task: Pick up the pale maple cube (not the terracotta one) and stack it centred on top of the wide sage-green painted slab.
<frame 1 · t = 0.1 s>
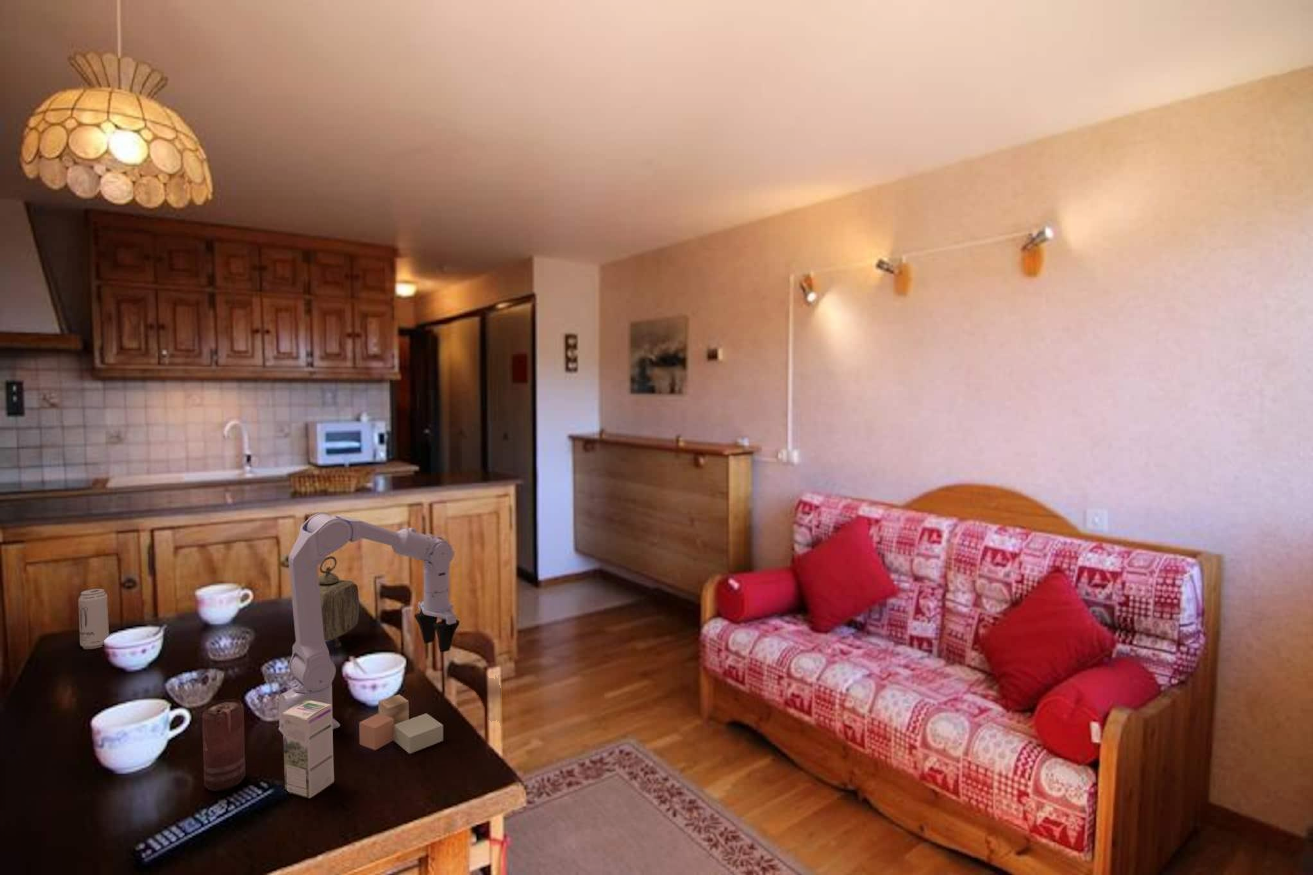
hand: (436, 646, 157), 10 cm above the table, fingers open, 7 cm apart
syrup box: (309, 788, 118), on the table
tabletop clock: (330, 648, 182), on the table
terracotta cube: (376, 742, 133), on the table
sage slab: (418, 741, 134), on the table
energy drink can: (94, 646, 181), on the table
maple cube: (393, 721, 142), on the table
can: (225, 783, 119), on the table
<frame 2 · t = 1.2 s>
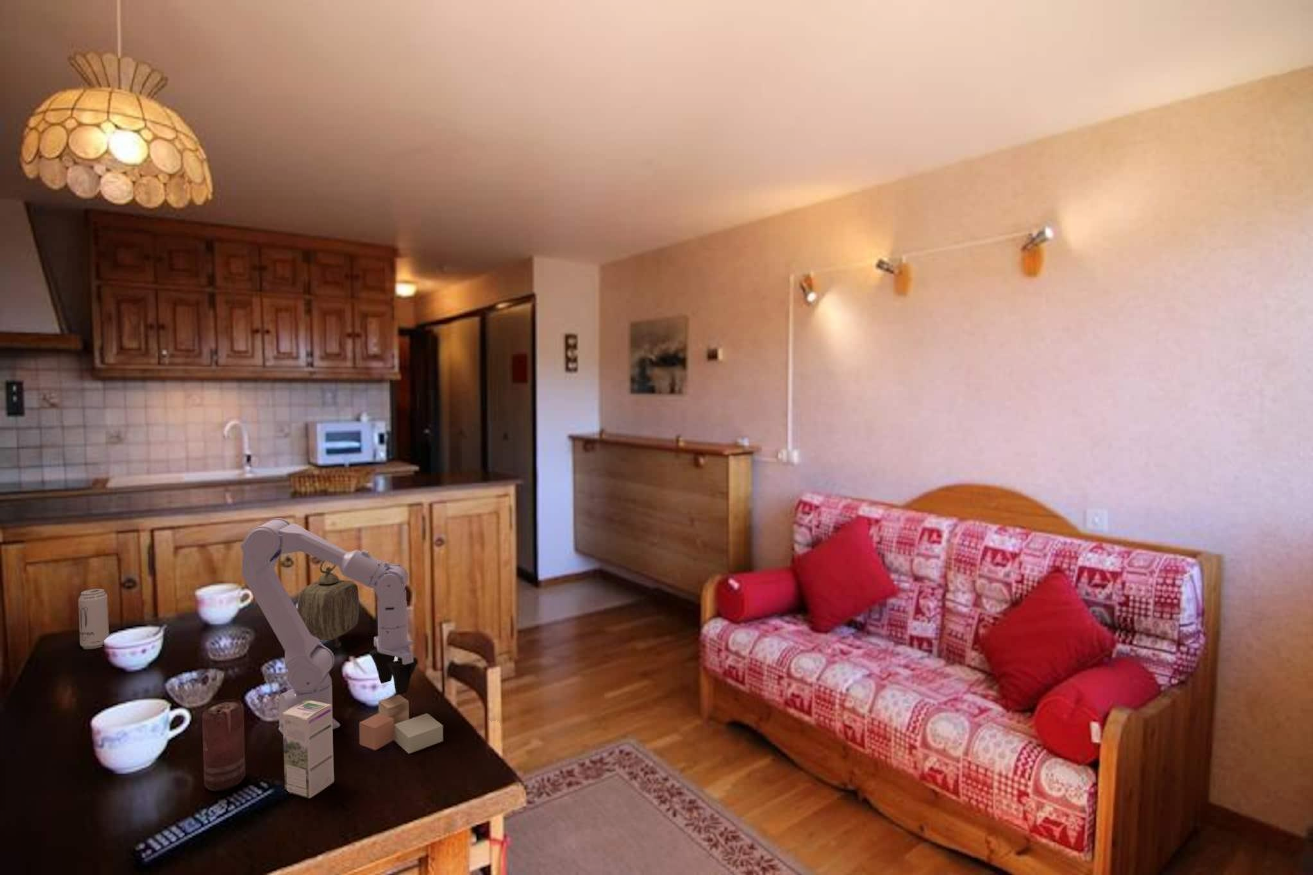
hand: (393, 687, 141), 7 cm above the table, fingers open, 7 cm apart
nothing on the table moved.
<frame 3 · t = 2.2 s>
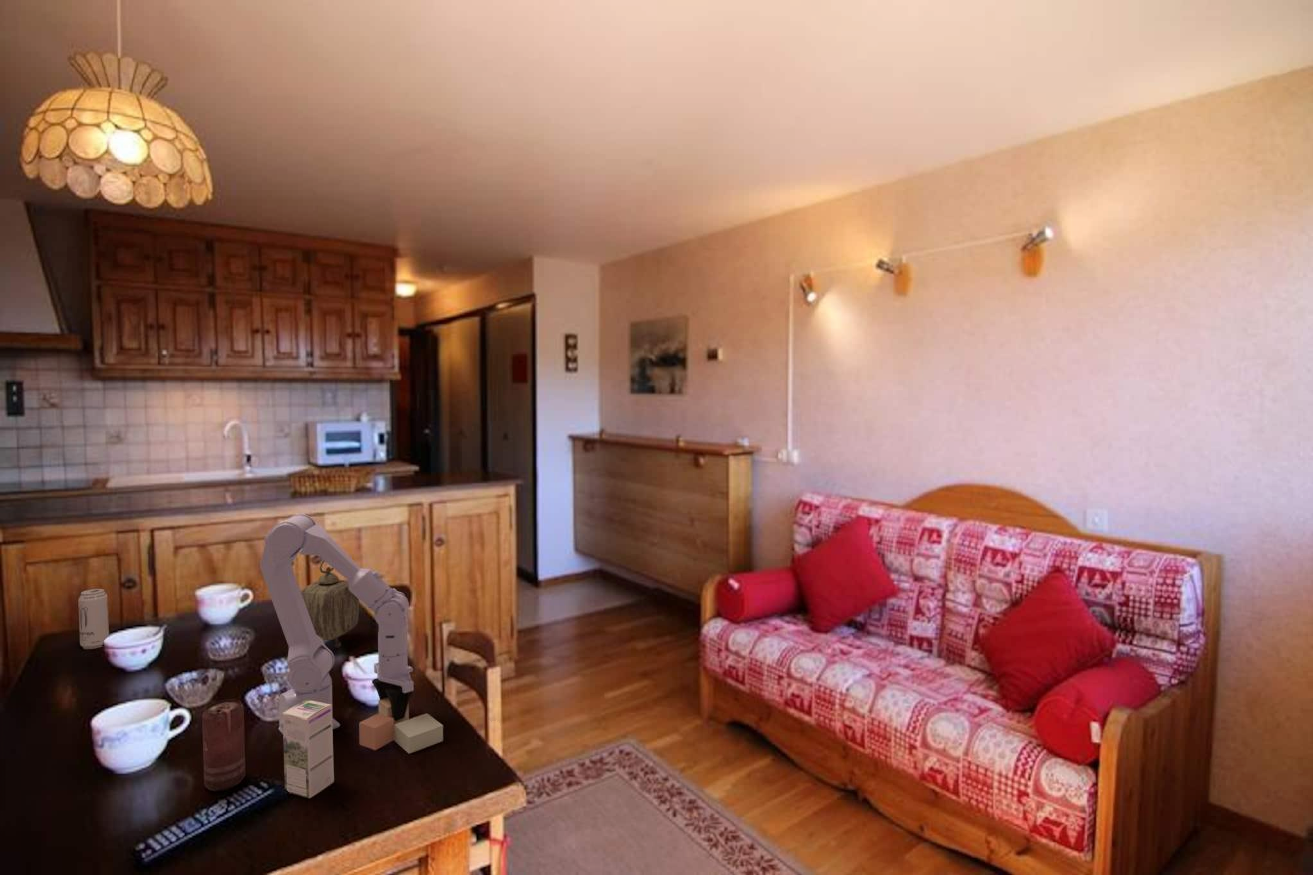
hand: (393, 714, 141), 1 cm above the table, fingers closed on maple cube, 4 cm apart
maple cube: (393, 721, 142), on the table, touching gripper
everything else where it was.
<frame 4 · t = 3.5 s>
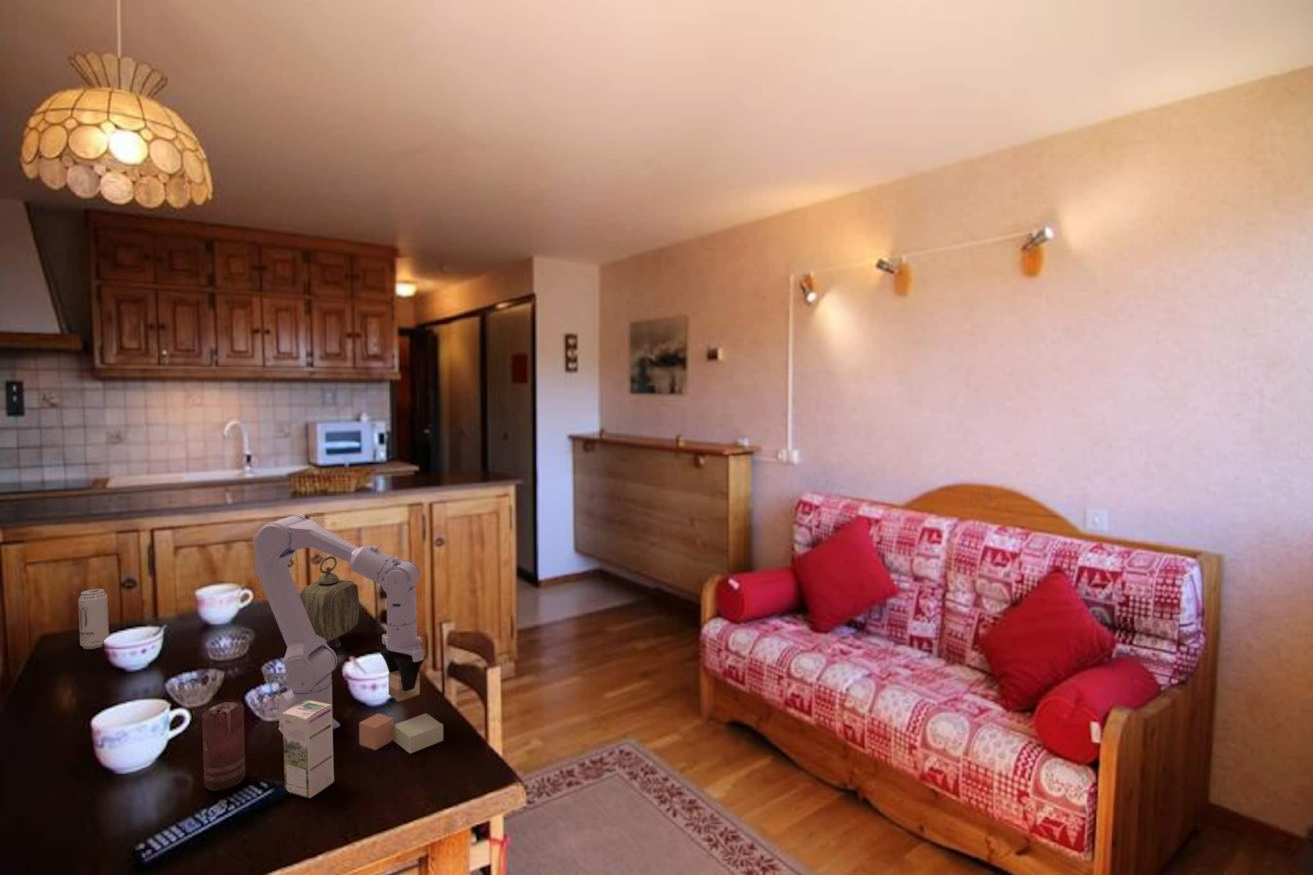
hand: (403, 685, 138), 9 cm above the table, fingers closed on maple cube, 4 cm apart
maple cube: (404, 694, 138), point 7 cm above the table, touching gripper
everything else where it was.
when the fingers open (6 cm above the table, at t = 4.8 s): maple cube moves 1 cm, point 3 cm above the table.
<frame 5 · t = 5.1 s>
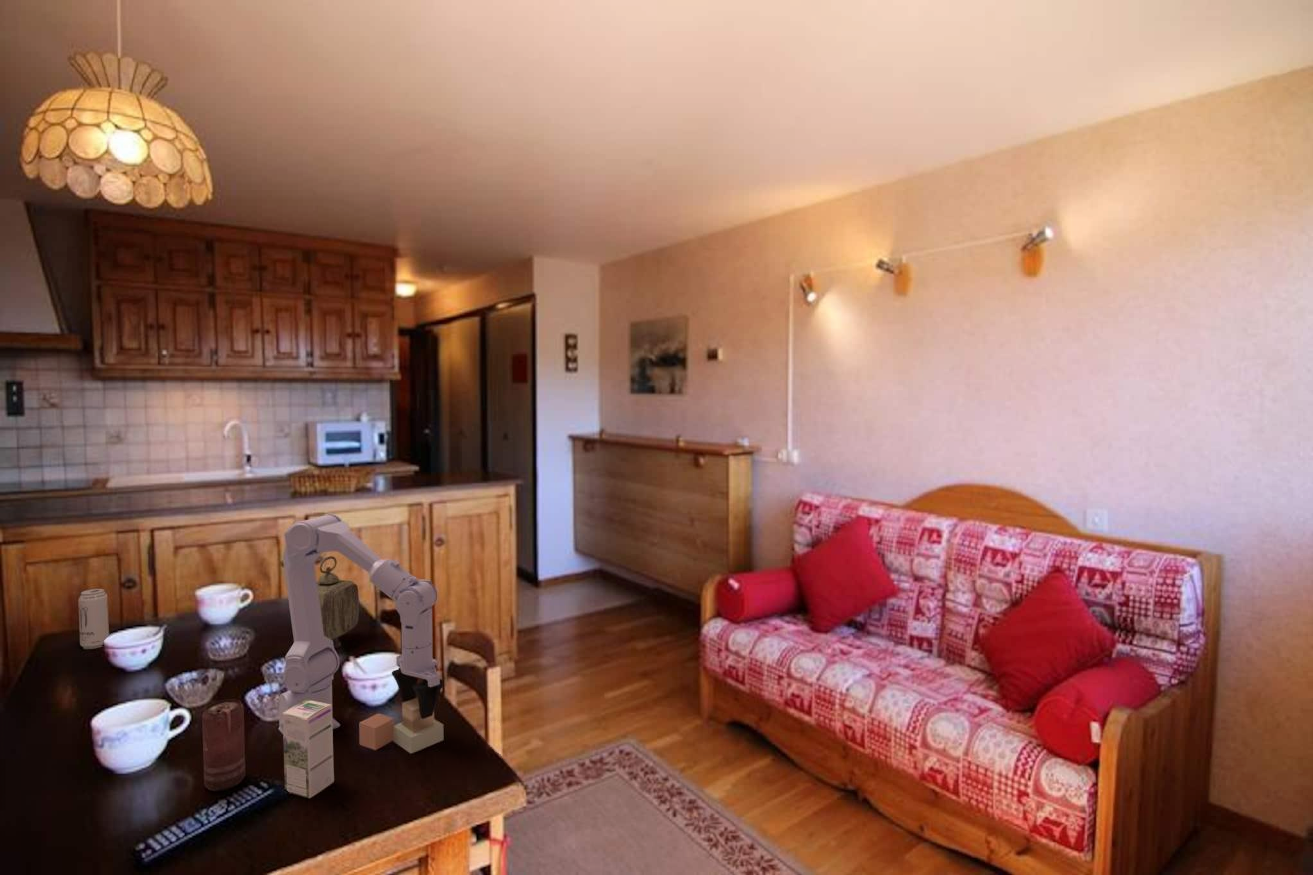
hand: (417, 710, 134), 6 cm above the table, fingers open, 7 cm apart
maple cube: (418, 724, 134), point 3 cm above the table
everything else where it was.
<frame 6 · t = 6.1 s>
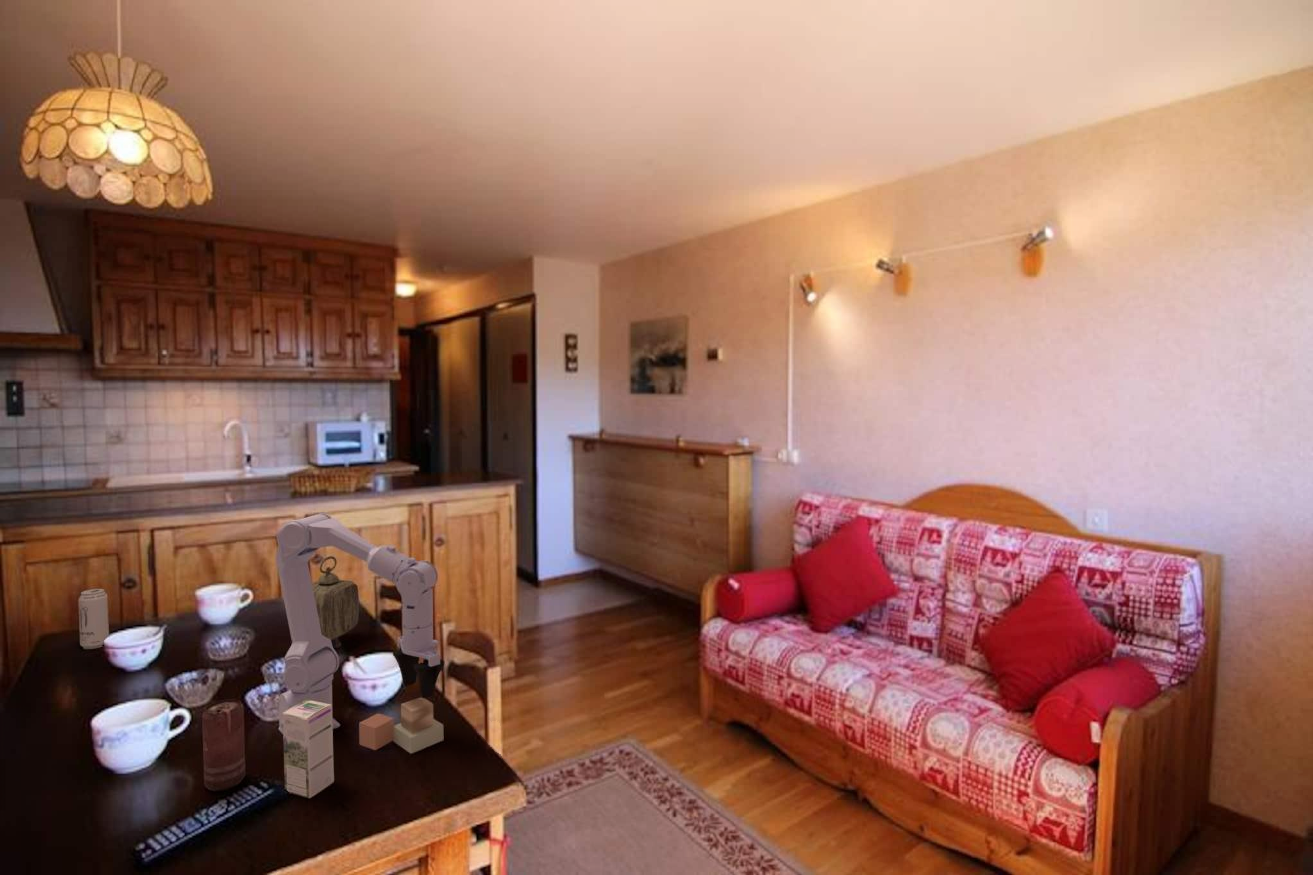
hand: (418, 690, 134), 10 cm above the table, fingers open, 7 cm apart
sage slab: (418, 742, 134), on the table, touching maple cube
maple cube: (417, 725, 133), point 3 cm above the table, touching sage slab
everything else where it was.
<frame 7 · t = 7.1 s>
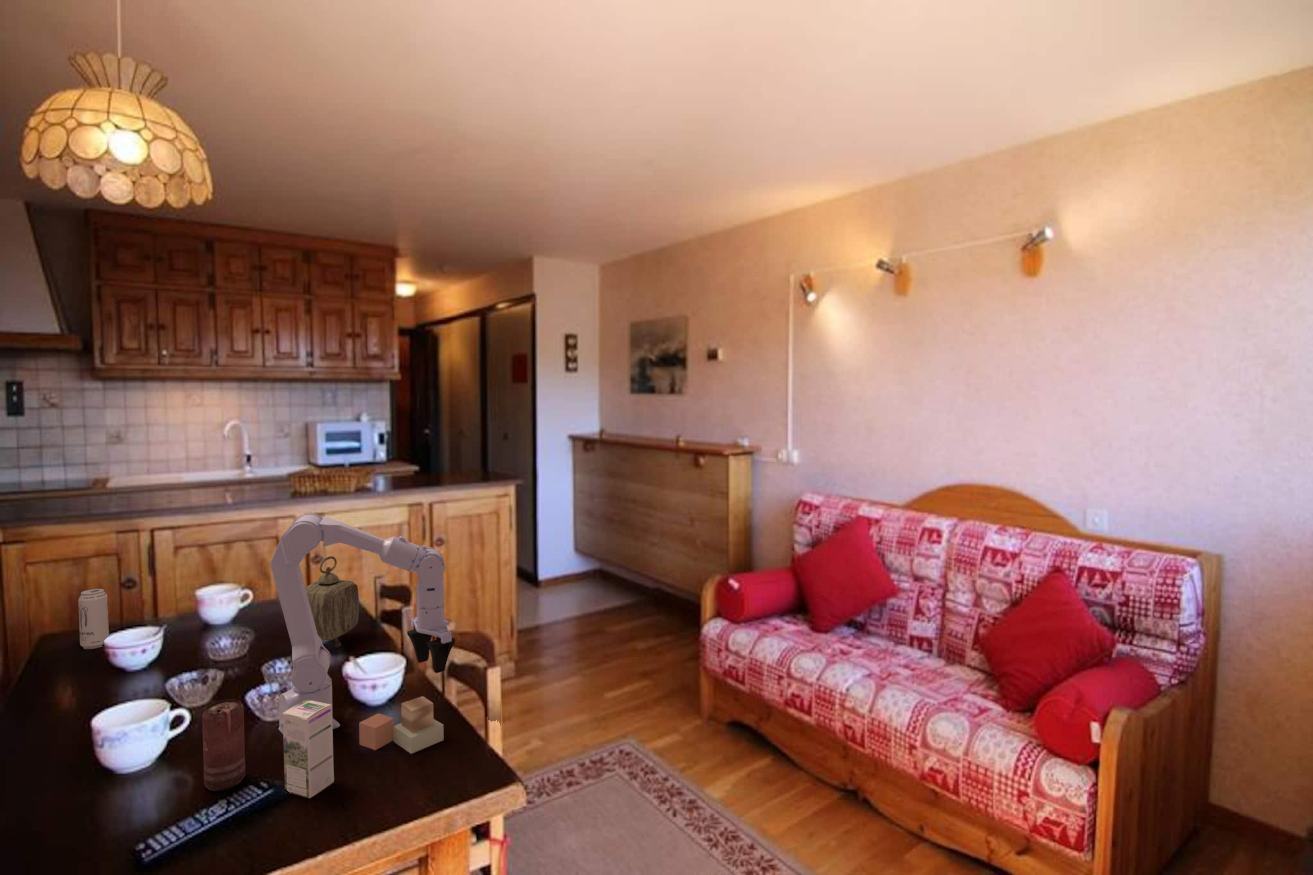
hand: (431, 666, 146), 10 cm above the table, fingers open, 7 cm apart
nothing on the table moved.
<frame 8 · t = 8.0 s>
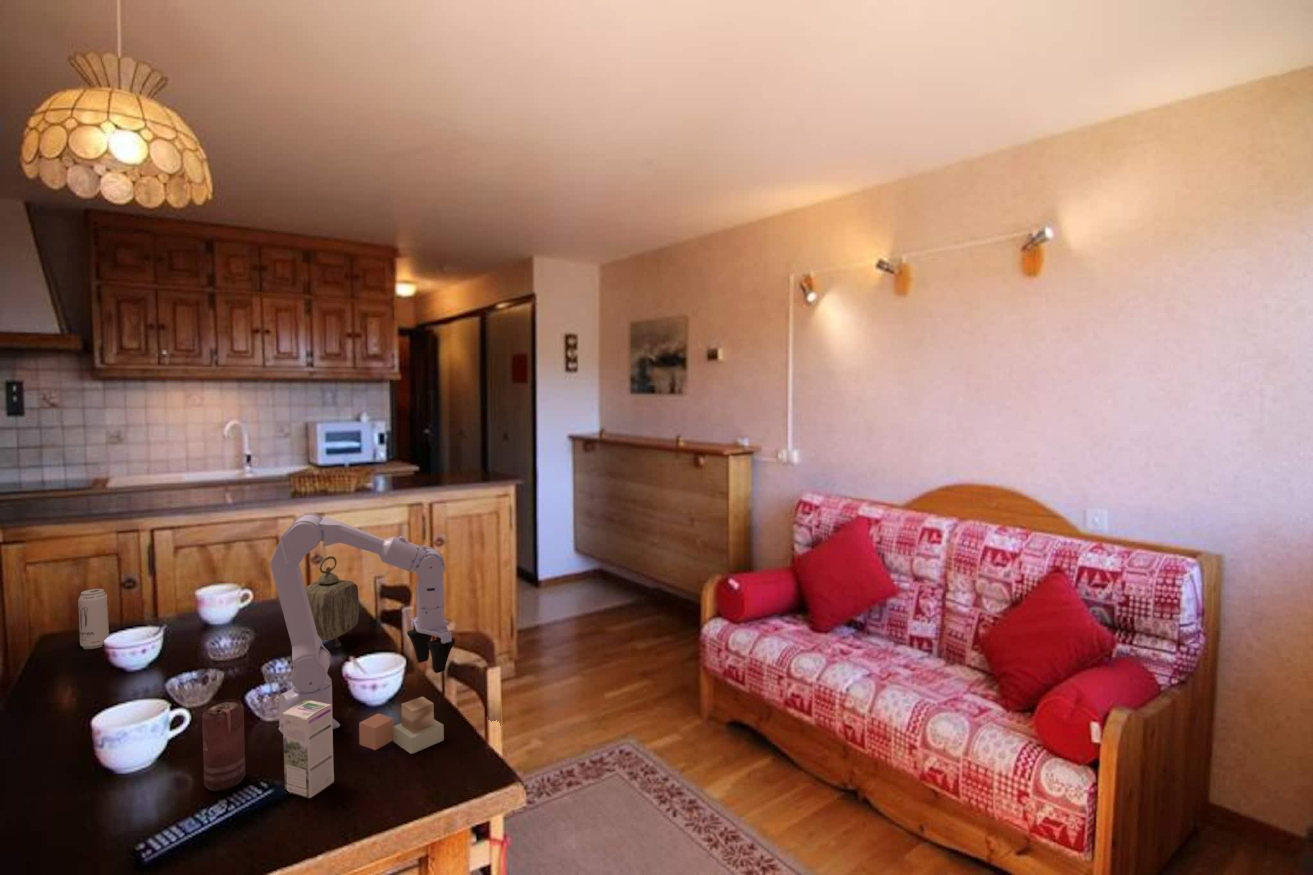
hand: (431, 666, 146), 10 cm above the table, fingers open, 7 cm apart
nothing on the table moved.
at the end: maple cube 0.1 cm off-centre on the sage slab, point 3.5 cm above the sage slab's base; maple cube tilted 0°; the gripper is holding nothing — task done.
